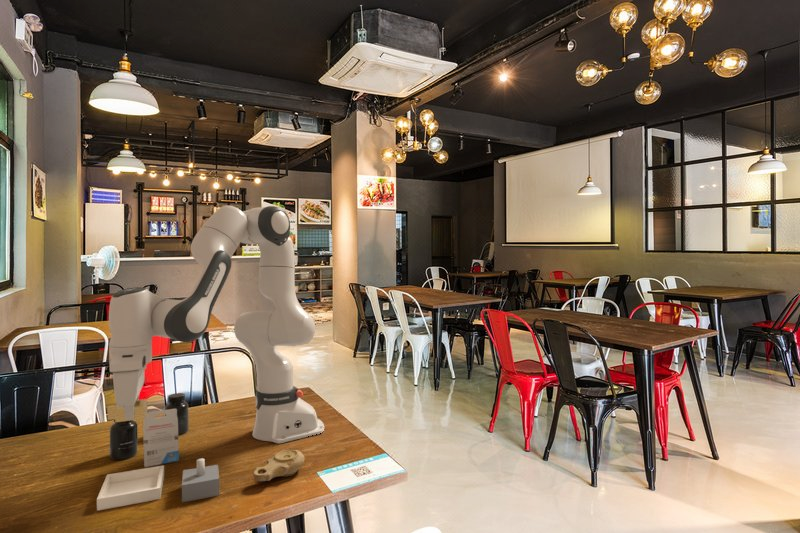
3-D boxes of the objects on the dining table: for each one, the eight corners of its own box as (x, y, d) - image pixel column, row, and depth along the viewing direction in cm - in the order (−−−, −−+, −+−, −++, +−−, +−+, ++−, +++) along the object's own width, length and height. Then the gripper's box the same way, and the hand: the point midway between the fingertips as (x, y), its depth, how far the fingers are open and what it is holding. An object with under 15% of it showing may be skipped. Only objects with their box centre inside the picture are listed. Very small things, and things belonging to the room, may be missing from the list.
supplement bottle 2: (165, 430, 150) (164, 393, 150) (188, 426, 153) (187, 390, 153) (165, 437, 144) (164, 399, 144) (189, 434, 147) (188, 396, 147)
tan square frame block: (147, 410, 115) (147, 398, 115) (144, 418, 109) (144, 406, 109) (110, 415, 112) (110, 402, 112) (105, 423, 106) (105, 410, 106)
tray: (164, 475, 120) (164, 465, 120) (160, 498, 108) (160, 487, 108) (107, 484, 115) (107, 474, 115) (96, 510, 103) (96, 499, 103)
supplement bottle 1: (125, 461, 128) (124, 418, 127) (103, 459, 129) (103, 416, 129) (143, 451, 134) (142, 410, 134) (123, 449, 136) (122, 408, 135)
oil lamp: (250, 489, 113) (250, 469, 113) (270, 463, 127) (270, 445, 127) (293, 491, 112) (293, 470, 112) (308, 464, 126) (308, 446, 126)
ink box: (178, 454, 132) (177, 403, 132) (178, 461, 128) (178, 408, 128) (144, 460, 128) (143, 407, 128) (143, 467, 124) (142, 413, 124)
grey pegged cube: (218, 480, 117) (217, 450, 117) (219, 495, 110) (218, 464, 110) (183, 486, 114) (182, 456, 114) (182, 502, 107) (181, 470, 106)
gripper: (122, 348, 119) (123, 402, 119) (107, 366, 100) (109, 430, 100) (150, 346, 121) (151, 399, 122) (141, 363, 103) (142, 425, 103)
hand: (131, 413), depth 111 cm, fingers closed on tan square frame block, 6 cm apart
